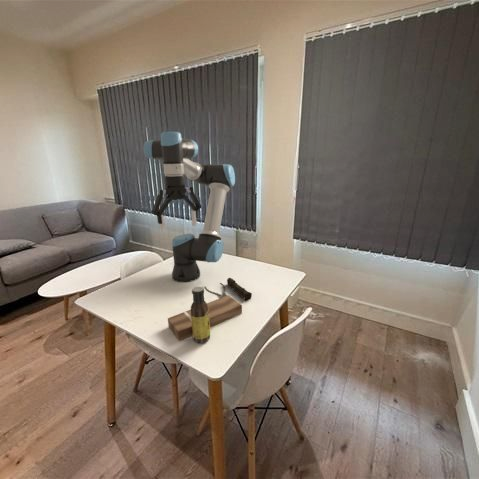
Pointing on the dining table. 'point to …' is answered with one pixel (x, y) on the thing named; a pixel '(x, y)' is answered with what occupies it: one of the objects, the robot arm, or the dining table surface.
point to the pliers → (217, 293)
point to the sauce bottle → (200, 316)
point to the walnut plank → (217, 314)
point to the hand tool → (239, 289)
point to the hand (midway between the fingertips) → (179, 228)
